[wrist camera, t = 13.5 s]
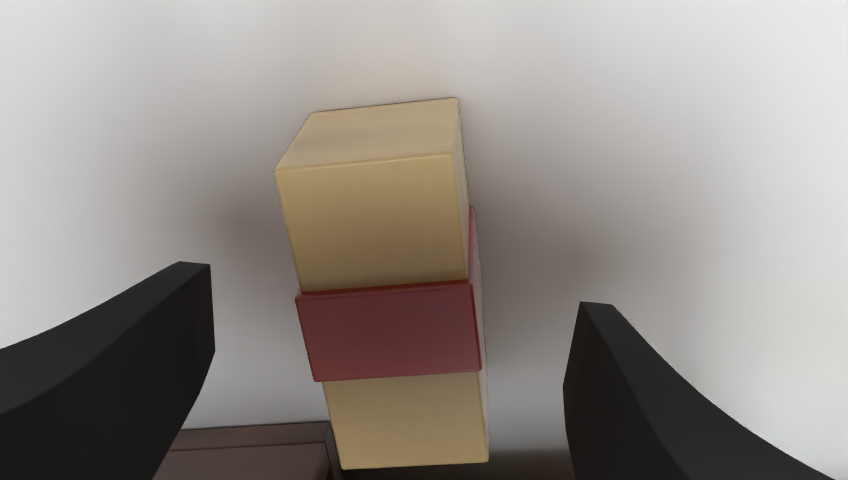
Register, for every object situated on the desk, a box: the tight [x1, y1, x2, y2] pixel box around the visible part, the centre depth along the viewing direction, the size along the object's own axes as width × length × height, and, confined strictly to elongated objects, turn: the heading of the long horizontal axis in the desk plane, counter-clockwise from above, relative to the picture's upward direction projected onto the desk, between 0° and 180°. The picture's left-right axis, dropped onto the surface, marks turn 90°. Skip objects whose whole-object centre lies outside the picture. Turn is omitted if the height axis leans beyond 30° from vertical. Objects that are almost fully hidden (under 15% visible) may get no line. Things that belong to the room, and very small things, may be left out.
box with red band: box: [274, 98, 489, 470], centre depth 16 cm, size 7×3×4 cm, turn 7°
